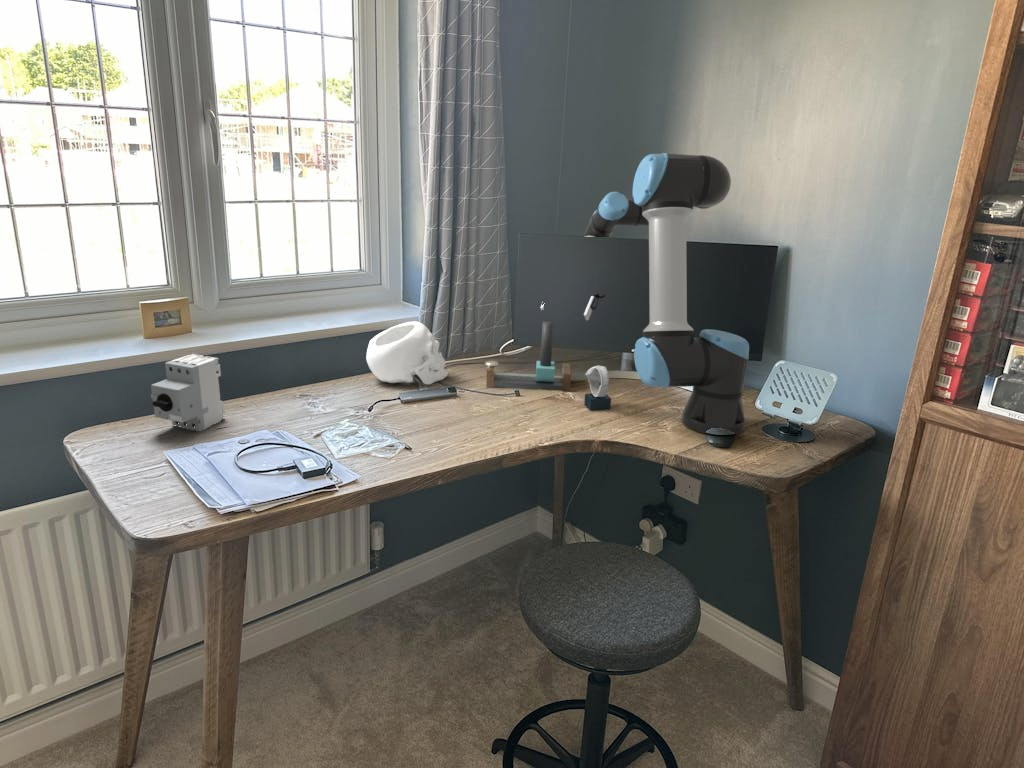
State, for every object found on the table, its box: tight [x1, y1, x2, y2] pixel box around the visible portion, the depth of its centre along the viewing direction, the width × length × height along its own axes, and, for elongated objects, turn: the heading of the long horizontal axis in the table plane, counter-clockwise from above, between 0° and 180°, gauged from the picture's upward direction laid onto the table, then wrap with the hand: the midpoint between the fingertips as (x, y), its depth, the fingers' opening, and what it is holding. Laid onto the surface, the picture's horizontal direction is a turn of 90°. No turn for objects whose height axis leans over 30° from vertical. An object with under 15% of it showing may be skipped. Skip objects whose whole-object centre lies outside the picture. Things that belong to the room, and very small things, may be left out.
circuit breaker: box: [150, 353, 226, 432], centre depth 156 cm, size 8×14×15 cm, turn 160°
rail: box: [484, 359, 572, 393], centre depth 197 cm, size 24×10×6 cm, turn 88°
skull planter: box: [365, 321, 449, 386], centre depth 194 cm, size 14×20×19 cm
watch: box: [583, 365, 612, 412], centre depth 180 cm, size 6×8×11 cm
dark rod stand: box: [535, 321, 556, 382], centre depth 194 cm, size 5×7×16 cm
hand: (563, 314), depth 200 cm, fingers open, 13 cm apart
